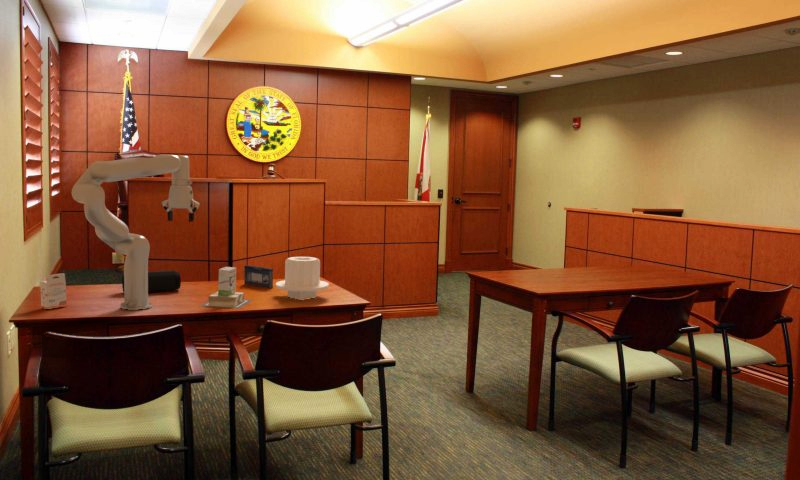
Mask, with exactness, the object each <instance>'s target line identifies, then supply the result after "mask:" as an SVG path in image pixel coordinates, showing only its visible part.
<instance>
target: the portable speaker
mask: <svg viewBox="0 0 800 480" xmlns="http://www.w3.org/2000/svg"><path fill="white" fill-rule="evenodd" d="M181 279H182V278H181V273H180V272H179V271H176V270H173V269H172V270H156V271H153V270H152V271H148V292H150V293H161V292H163V293H164V292H175V291H177V290H179V289H181V283H182V282H181ZM121 287H122V292H123V293H124V274H122V279H121Z"/></svg>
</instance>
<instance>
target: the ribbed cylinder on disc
mask: <svg viewBox="0 0 800 480" xmlns="http://www.w3.org/2000/svg"><path fill="white" fill-rule="evenodd" d="M284 271H285V272H284V280H279V281H277V282H276V283H275V288H277V289H279V290H283V291H287V298H288V297H290V298H289V299H292V298H295V299H294V300H296V299H299V300H302V299H307V298H313V297H317V295H318V294H317V291H323V290H326V289H328V288H329V286H330V283H328V282H327V281H323V280H321V260H320V258H317V257H313V256H291V257H287V258H286V259H285V261H284ZM299 300H298V301H299ZM302 301H303V300H302Z"/></svg>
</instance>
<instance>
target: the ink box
mask: <svg viewBox="0 0 800 480" xmlns="http://www.w3.org/2000/svg"><path fill="white" fill-rule="evenodd" d="M217 286H218V287H217V292H218V295H219V296H230V295H232V294H234V293H236V292H237V267H236V266H235V267H234V266H232V267H231V266H224V267H222V268H219V269H218V285H217Z"/></svg>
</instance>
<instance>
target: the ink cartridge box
mask: <svg viewBox="0 0 800 480" xmlns="http://www.w3.org/2000/svg"><path fill="white" fill-rule="evenodd" d="M45 278H46V279H45V280H41V281H40V304H41V306H45V307H51V306H58V305H65V304H66V305H67V281H66V273H64V272H61V273H55V274H48V275H46V276H45Z"/></svg>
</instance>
